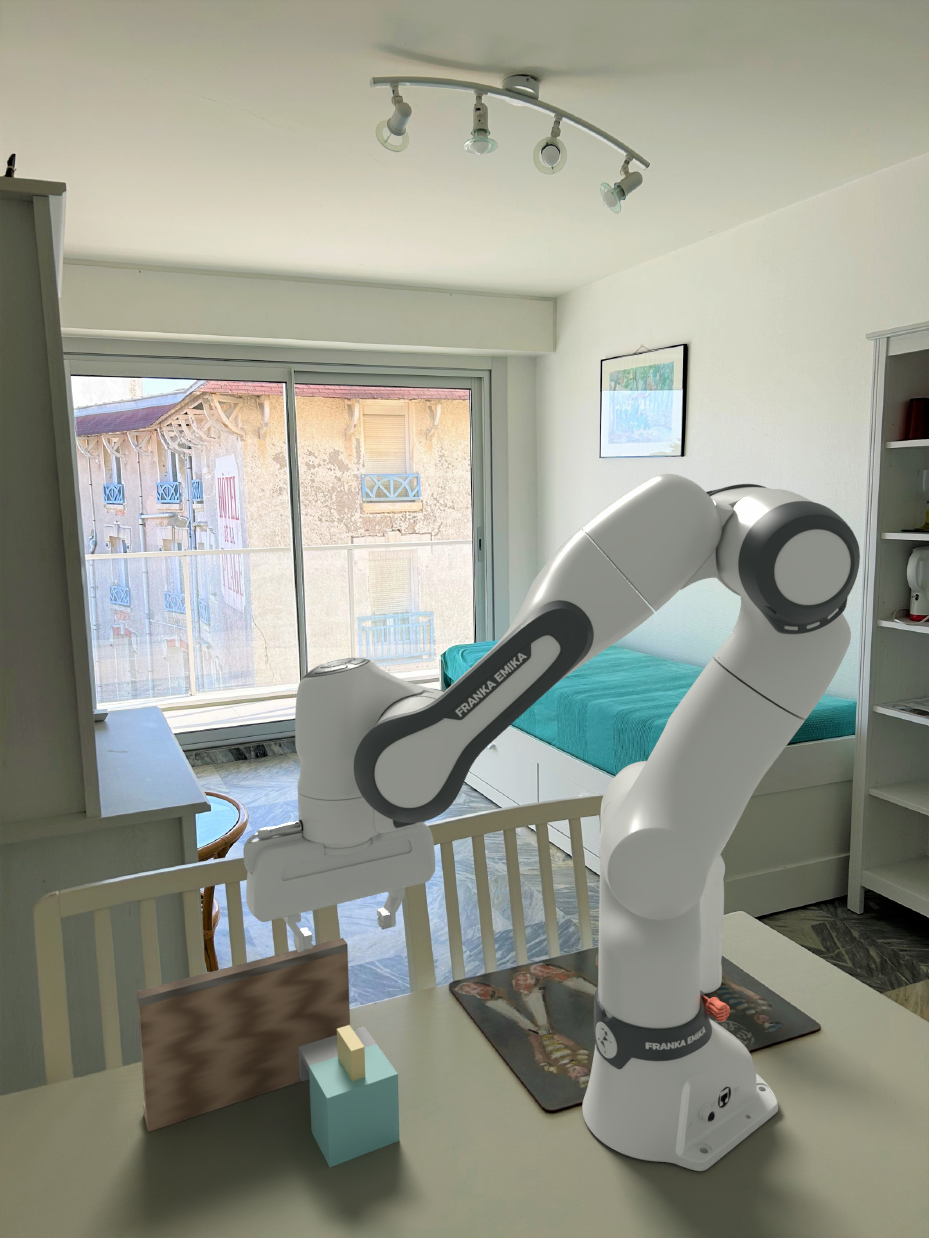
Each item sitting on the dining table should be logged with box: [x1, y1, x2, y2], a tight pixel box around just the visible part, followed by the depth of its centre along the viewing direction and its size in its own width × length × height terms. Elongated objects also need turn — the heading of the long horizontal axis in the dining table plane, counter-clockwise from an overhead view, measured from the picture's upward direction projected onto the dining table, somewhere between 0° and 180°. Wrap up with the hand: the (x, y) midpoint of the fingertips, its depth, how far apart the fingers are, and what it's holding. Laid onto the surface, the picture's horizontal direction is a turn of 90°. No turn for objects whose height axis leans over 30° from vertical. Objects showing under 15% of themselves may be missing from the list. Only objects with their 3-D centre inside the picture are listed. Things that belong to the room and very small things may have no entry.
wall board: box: [136, 937, 351, 1133], centre depth 104 cm, size 24×3×16 cm, turn 118°
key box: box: [298, 1024, 401, 1168], centre depth 98 cm, size 8×10×12 cm
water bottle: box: [700, 854, 726, 995], centre depth 124 cm, size 7×7×25 cm
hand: (346, 936), depth 94 cm, fingers open, 8 cm apart
